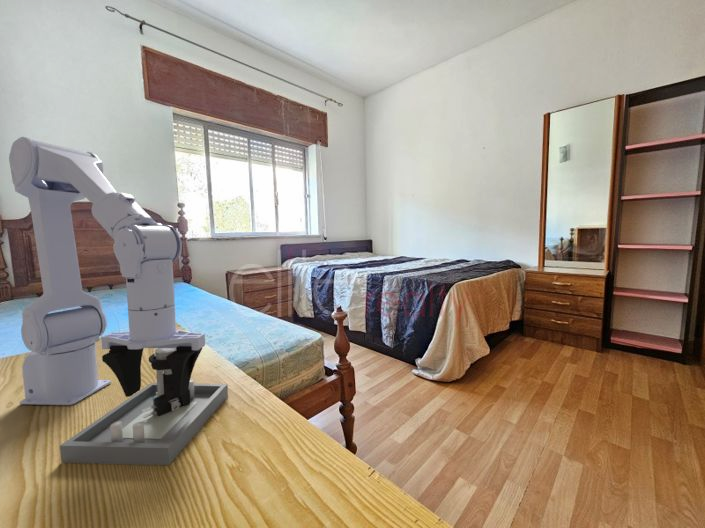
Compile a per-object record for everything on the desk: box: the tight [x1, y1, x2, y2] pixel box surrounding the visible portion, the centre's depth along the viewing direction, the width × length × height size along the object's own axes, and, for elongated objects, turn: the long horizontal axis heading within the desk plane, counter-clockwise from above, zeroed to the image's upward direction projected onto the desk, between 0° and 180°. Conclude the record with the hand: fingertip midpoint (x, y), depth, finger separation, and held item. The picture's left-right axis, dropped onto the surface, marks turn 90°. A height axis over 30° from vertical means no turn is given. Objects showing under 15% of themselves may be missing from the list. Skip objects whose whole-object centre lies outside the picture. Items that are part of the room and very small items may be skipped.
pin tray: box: [59, 379, 229, 466], centre depth 44 cm, size 14×16×4 cm
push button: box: [142, 348, 190, 418], centre depth 46 cm, size 7×5×10 cm
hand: (157, 393), depth 44 cm, fingers open, 7 cm apart
